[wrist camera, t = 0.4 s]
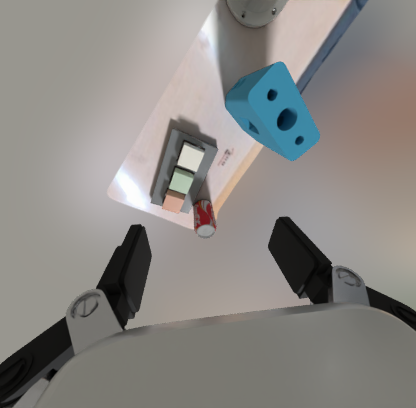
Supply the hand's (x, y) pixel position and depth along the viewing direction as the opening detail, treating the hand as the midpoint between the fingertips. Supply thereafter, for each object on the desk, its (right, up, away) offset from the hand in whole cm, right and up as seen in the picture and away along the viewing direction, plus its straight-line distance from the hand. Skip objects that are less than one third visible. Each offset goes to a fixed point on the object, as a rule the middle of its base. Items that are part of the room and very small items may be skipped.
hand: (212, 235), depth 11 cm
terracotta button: (-10, +4, +34) cm, 36 cm away
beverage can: (-2, +2, +40) cm, 40 cm away
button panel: (-8, +11, +33) cm, 36 cm away
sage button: (-8, +9, +31) cm, 33 cm away
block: (+8, +25, +26) cm, 36 cm away
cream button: (-5, +15, +28) cm, 32 cm away
